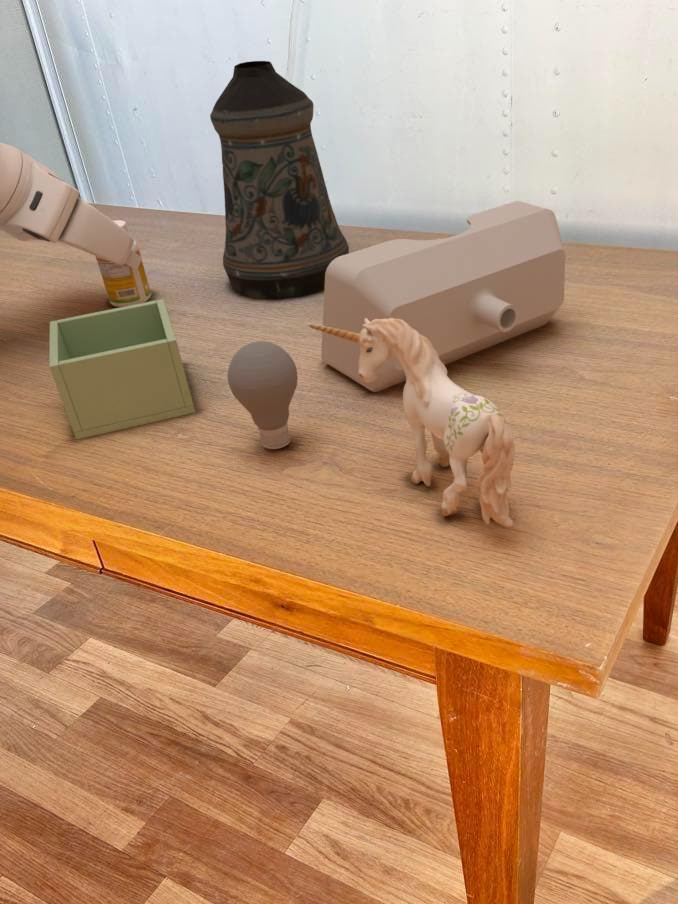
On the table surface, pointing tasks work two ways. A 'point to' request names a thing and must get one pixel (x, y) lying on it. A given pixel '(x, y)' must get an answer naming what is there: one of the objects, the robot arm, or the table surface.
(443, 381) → the unicorn figurine
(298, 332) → the table surface
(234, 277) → the brown decorated vase
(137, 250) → the supplement bottle
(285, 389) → the light bulb
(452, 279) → the tank
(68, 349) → the bin
